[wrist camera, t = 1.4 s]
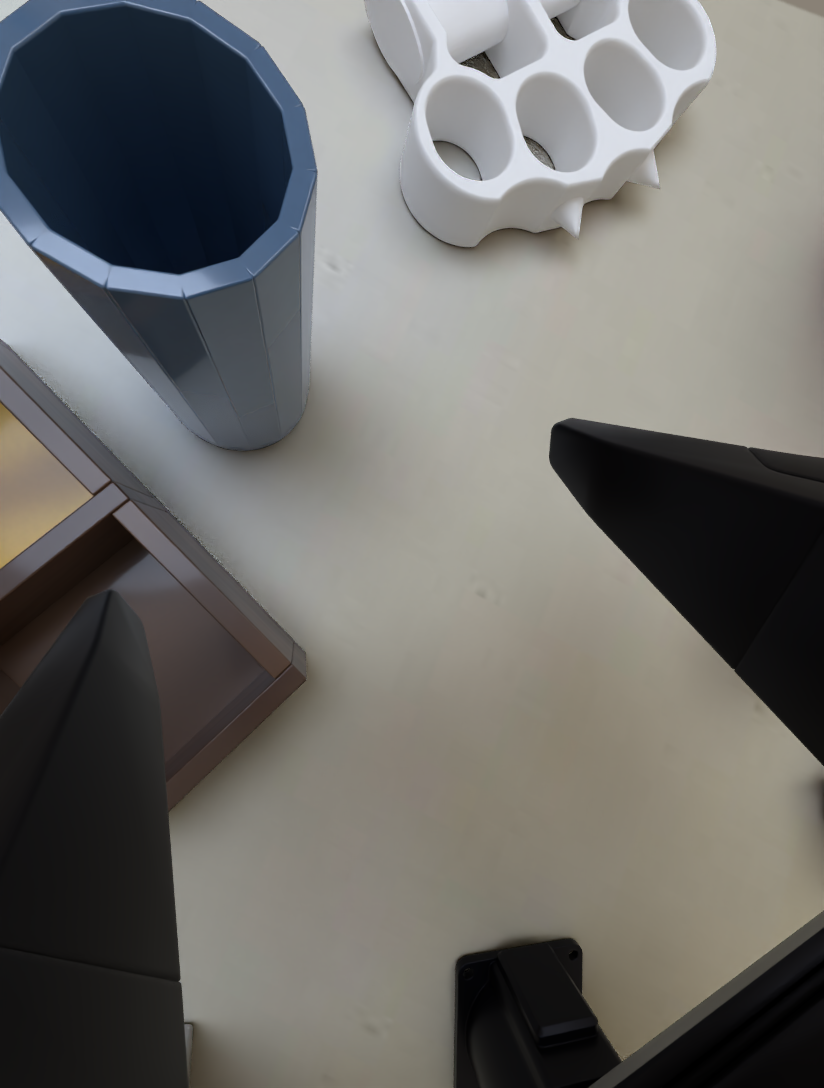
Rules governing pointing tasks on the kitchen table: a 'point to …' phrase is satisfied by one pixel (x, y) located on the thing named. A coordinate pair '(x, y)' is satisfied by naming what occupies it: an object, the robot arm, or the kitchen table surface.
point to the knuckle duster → (537, 103)
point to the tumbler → (168, 200)
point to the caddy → (126, 582)
